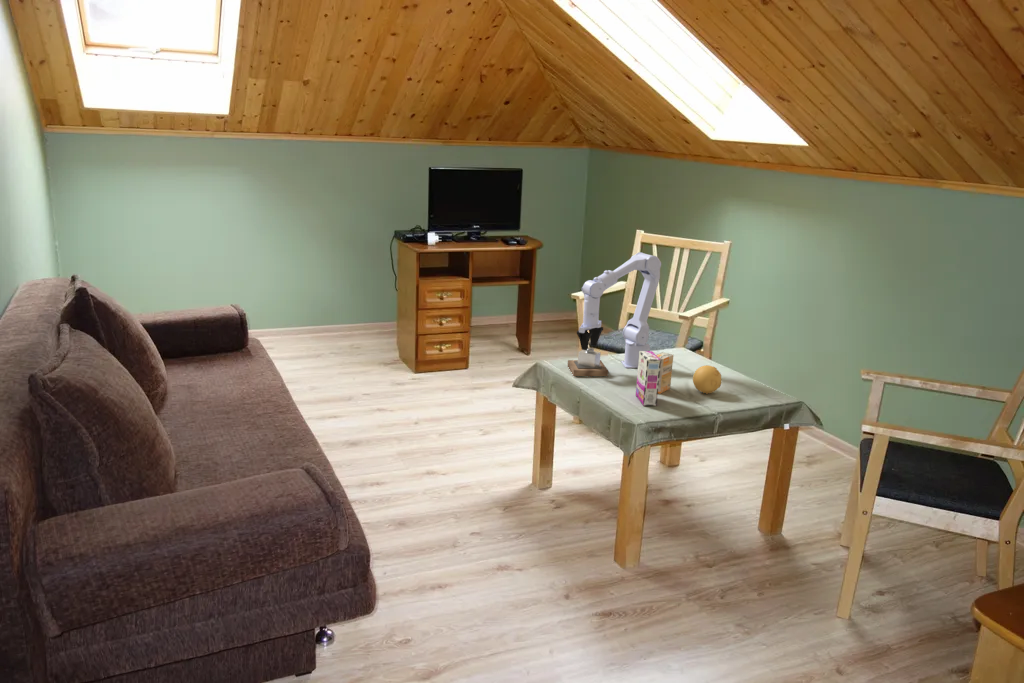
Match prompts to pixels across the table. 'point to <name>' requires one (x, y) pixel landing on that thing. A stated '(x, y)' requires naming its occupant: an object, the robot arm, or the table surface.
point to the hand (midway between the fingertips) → (589, 347)
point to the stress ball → (707, 379)
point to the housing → (589, 358)
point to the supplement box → (665, 371)
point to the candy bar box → (648, 378)
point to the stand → (587, 369)
